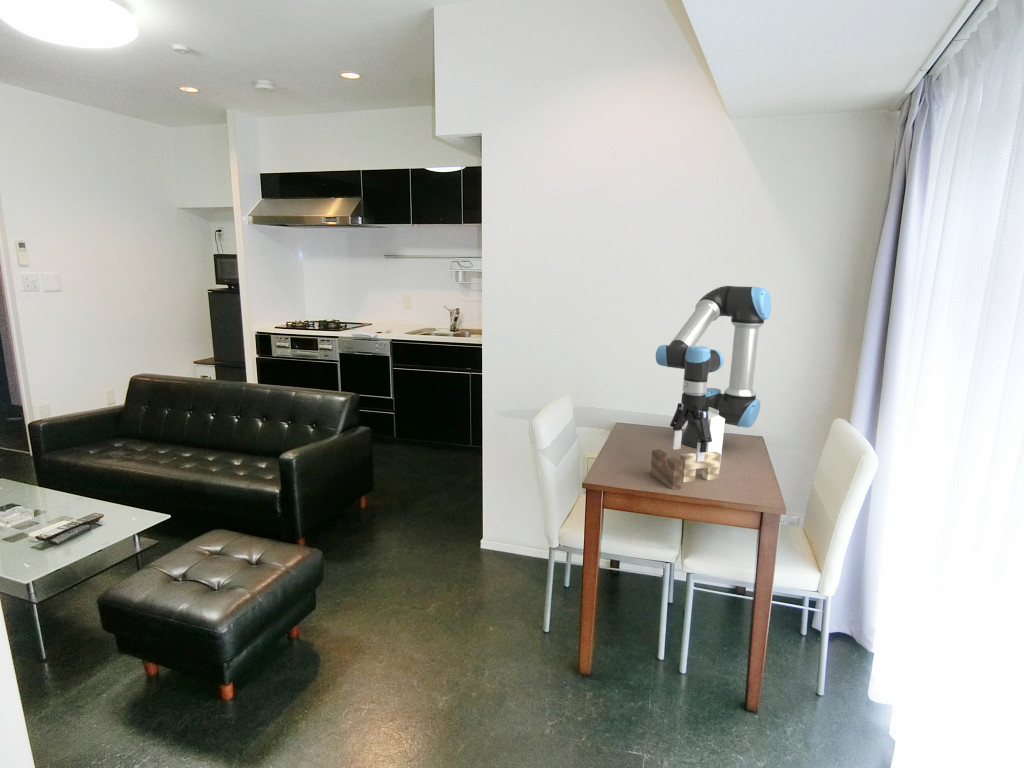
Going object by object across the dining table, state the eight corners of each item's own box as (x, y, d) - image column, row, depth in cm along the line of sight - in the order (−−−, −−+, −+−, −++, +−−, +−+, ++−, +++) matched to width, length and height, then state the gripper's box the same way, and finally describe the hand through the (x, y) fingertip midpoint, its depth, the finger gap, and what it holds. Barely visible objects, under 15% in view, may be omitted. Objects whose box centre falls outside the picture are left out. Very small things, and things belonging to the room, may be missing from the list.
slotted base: (657, 473, 205) (659, 449, 204) (680, 488, 192) (682, 462, 191) (650, 474, 204) (652, 449, 203) (672, 489, 191) (674, 462, 190)
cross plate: (713, 476, 205) (715, 451, 203) (718, 479, 202) (721, 454, 200) (678, 479, 201) (680, 454, 199) (683, 482, 198) (685, 457, 196)
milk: (705, 470, 210) (711, 411, 206) (695, 465, 216) (701, 407, 211) (720, 469, 212) (726, 410, 207) (710, 463, 218) (715, 406, 213)
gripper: (663, 386, 204) (658, 444, 208) (707, 401, 181) (700, 467, 185) (682, 385, 206) (676, 443, 210) (728, 401, 183) (720, 466, 187)
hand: (687, 454), depth 198 cm, fingers open, 13 cm apart
